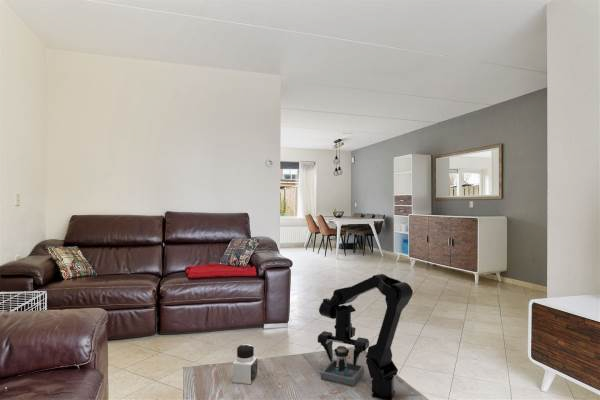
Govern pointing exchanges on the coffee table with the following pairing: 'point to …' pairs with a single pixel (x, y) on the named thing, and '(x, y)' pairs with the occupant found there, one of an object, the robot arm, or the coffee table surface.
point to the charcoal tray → (346, 380)
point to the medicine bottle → (245, 365)
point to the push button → (341, 361)
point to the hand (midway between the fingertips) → (342, 363)
